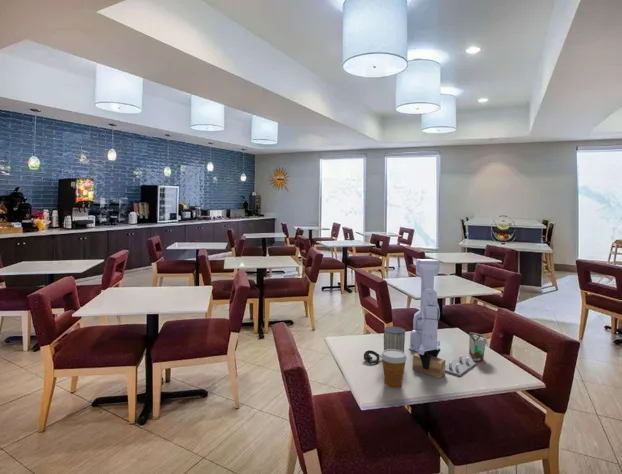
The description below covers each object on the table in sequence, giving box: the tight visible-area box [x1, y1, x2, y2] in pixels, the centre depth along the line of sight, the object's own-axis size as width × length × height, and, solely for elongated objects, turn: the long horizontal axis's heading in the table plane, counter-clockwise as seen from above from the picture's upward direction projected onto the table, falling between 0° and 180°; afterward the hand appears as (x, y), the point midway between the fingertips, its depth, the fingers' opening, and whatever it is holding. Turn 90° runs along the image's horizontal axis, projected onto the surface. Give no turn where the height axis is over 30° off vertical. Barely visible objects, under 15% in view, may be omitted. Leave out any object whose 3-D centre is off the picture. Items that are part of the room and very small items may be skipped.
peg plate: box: [445, 354, 478, 378], centre depth 162 cm, size 8×17×3 cm, turn 136°
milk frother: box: [363, 325, 406, 364], centre depth 166 cm, size 14×16×15 cm
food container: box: [468, 331, 488, 363], centre depth 172 cm, size 12×6×10 cm, turn 168°
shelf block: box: [412, 352, 446, 379], centre depth 158 cm, size 4×12×6 cm, turn 45°
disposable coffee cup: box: [380, 349, 408, 389], centre depth 146 cm, size 10×10×12 cm
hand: (428, 367), depth 158 cm, fingers closed on shelf block, 4 cm apart
